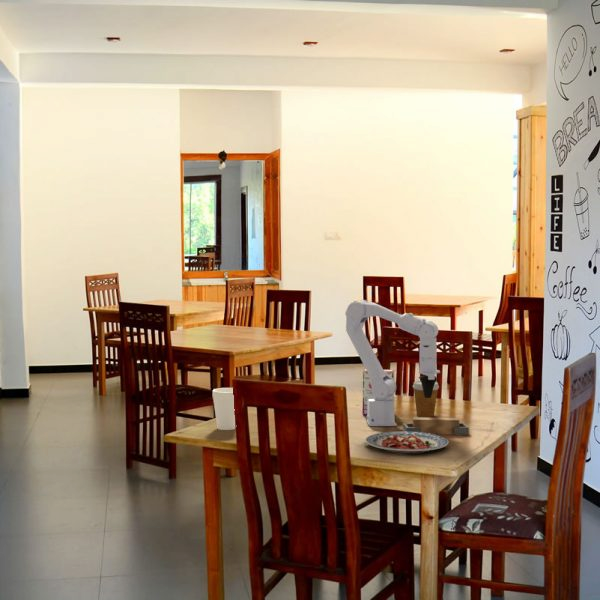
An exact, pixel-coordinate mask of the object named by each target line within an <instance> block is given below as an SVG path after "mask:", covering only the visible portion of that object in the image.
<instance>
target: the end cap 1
mask: <svg viewBox="0 0 600 600" xmlns="http://www.w3.org/2000/svg"><path fill="white" fill-rule="evenodd" d="M402 427H403V428H402V430H403V431H408V432H421V427H413V422H409V423H408V422H404V423H402Z"/></svg>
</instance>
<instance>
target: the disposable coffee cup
mask: <svg viewBox="0 0 600 600" xmlns="http://www.w3.org/2000/svg"><path fill="white" fill-rule="evenodd" d="M412 388H413V393H414V400H415V401H414V403H415V410H416V417H417V416H418V417H423V418H433V417H434V416H435V412H436V411H435V410H436V403H437V398H438V390H439V388H440V386H439V383H438V382H437V381H436V382H435V384H434V387H433V392H432V396H431V398H425V397H424V393H423V387H422V384H421V381H420V380H417V381H414V382H413V385H412Z"/></svg>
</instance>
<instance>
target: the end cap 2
mask: <svg viewBox="0 0 600 600" xmlns="http://www.w3.org/2000/svg"><path fill="white" fill-rule="evenodd" d="M469 428H470V427H469V426H468V425H467V424H466V423H465V422H459V427H454V434H453V436H469V435H470V434H469V433H470V431H469V430H470V429H469Z"/></svg>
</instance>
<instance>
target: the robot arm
mask: <svg viewBox="0 0 600 600" xmlns="http://www.w3.org/2000/svg"><path fill="white" fill-rule="evenodd" d="M344 313H345V316H346V317H345V318H346V320H345V322H346V324H345V328H346V329H345V331H346V333H347V335H348V337H349V339H350V341H351V343H352V344H353V347H354V349H355V352H356V353H357V354H358V357H359V358H360V360H361V362H362V364H363V367H364V369H366V370H367V372H368V374H369V376H370V384H371V386H372V393H373V395H374V399H368V403H367V415H366V422H367V424H368V426H369V427H398V426H397V425H398V424H397V423H396V421H395V406H396V405H395V392H396V390H397V384H396V381H395V379H394V380H393V379H391V378H390V377H389V375H388V373H387V372H385V371H384V370H385V369H383V367H382V365H381V362H380V360H379V359H378V357H377V355H376V353H375V352H374V349H373V347H372V346H371V344H370V342H369V340H368V337H367V335H366V334H365V332H364V330H363V328H364V326H365V323H366V321H367V320H368V319H369V318H372V317H379V318H381V319H384V320H386V321H389V322H392V323H395V324H397V325H398V327H399V329H401V330H402V331H406V332H407V333H410V334H411V335H415V336H418V338H419V368H418V373H419V374H420V375H421V376H419V377H418V379H419V381H421V384H422V387H423V393H424V397H425V398H431V396H432V392H433V387H434V384H435V382H437V380H438V378H437V376H436V375H437V374H440V373H441V371H440V370H439V369H437V363H438V362H437V355H438V354H437V352H438V351H437V350H438V348H437V346H438V345H437V336H438V334H439V327H438V325H437V324H436V323H435V322H433V321H429V320H428V321H427V319H425V318H419V317H418V316H417V317H416V316H414V314H413V313H412V312H409V313H407V312H405V313H403V314H399V313H397V312H395V311H394V310H391V309H389V308H387V307H384V306H382V305H380V304H377V303H375V302H373V301H372V302H371V301H368V300H366V299H361V300H358V301H353V302H350V304H349V305H348V306H347V308H346V311H345V312H344ZM422 375H423V376H422ZM393 394H394V395H393Z"/></svg>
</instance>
